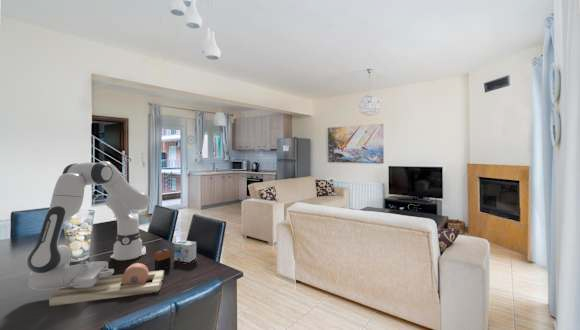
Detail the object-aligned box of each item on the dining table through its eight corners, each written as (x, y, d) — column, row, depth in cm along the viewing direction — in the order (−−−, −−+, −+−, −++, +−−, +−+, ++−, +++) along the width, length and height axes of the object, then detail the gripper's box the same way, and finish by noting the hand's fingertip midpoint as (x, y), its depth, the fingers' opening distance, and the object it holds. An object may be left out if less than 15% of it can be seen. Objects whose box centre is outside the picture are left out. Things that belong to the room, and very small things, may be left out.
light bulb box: (173, 261, 155) (173, 243, 154) (181, 257, 161) (181, 239, 161) (188, 264, 151) (189, 245, 151) (196, 260, 158) (196, 241, 157)
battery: (170, 267, 147) (170, 249, 146) (158, 271, 141) (158, 252, 141) (166, 265, 149) (166, 247, 149) (154, 269, 144) (154, 251, 143)
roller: (153, 269, 129) (139, 287, 128) (134, 259, 126) (119, 277, 125) (151, 274, 124) (136, 294, 122) (131, 264, 121) (116, 283, 119)
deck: (69, 286, 124) (69, 280, 124) (164, 275, 136) (164, 269, 136) (49, 306, 108) (49, 298, 108) (159, 291, 120) (159, 285, 120)
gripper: (65, 278, 107) (105, 274, 112) (85, 260, 127) (119, 256, 131) (65, 294, 108) (105, 289, 112) (86, 273, 127) (119, 269, 131)
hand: (113, 271), depth 122 cm, fingers closed
